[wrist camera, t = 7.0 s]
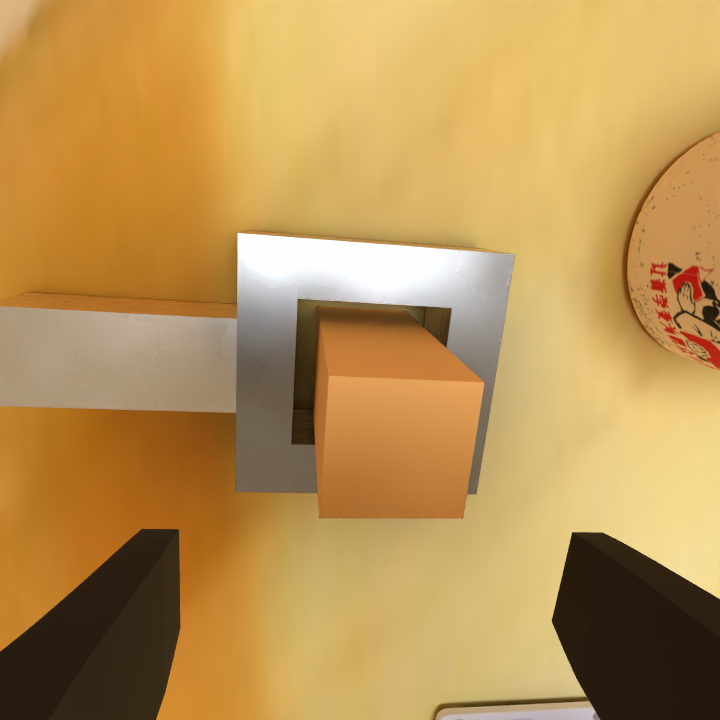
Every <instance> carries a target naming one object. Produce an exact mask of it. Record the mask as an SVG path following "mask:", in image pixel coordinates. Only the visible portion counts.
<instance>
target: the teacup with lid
mask: <svg viewBox="0 0 720 720" xmlns="http://www.w3.org/2000/svg"><path fill="white" fill-rule="evenodd" d="M627 278H628V287H629V292H630V297H631V300H632V303H633V306H634V309H635V311H636V313H637V316H638V318H639V319H640V321H641V323H642V324H643V326H644V327H645V329H646V330H647V331H648V333H649V334H650V335H651V336H652V337H653V338H654V339H655V340H656V341H657V342H658V343H660V344H661V345H662V346H663V347H665V348H666V349H668V350H670V351H671V352H673V353H675V354H677V355H679V356H681V357H684V358H687V359H689V360H692V361H695V362H698V363H700V364H703V365H706V366H708V367H711V368H714V369H717V370H719V371H720V132H718V133H716V134H714V135H712V136H710V137H708V138H706V139H705V140H703V141H701V142H700V143H698V144H697V145H695V146H694V147H693V148H691V149H690V150H689V151H687V152H686V153H685V154H684V155H682V156H681V157H680V158H679V159H678V160H677V161H676V162H675V163H674V164H673V165H672V166H671V167H670V168H669V169H668V170H667V171H666V172H665V173H664V175H663V176H662V177H661V178H660V180H659V181H658V182H657V184H656V185H655V186H654V188H653V190H652V191H651V193H650V194H649V196H648V198H647V199H646V201H645V203H644V205H643V207H642V209H641V211H640V213H639V216H638V218H637V221H636V224H635V226H634V229H633V233H632V237H631V241H630V246H629V252H628V262H627Z"/></svg>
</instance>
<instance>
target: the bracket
mask: <svg viewBox="0 0 720 720" xmlns="http://www.w3.org/2000/svg"><path fill="white" fill-rule="evenodd" d="M514 257H515V254H509V253H503V252H498V251H492V250H486V249H480V248H468V247H455V246H442V245H429V244H416V243H403V242H390V241H377V240H364V239H351V238H338V237H326V236H313V235H300V234H287V233H274V232H261V231H245V232H241V233H238V275H237V304H222V303H205V302H188V301H171V300H153V299H136V298H119V297H102V296H84V295H67V294H50V293H33V292H30V293H26V294H22V295H19V296H15V297H11V298H8V299H4V300H0V406H19V407H52V408H86V409H120V410H153V411H187V412H220V413H236V458H235V492H279V493H318V485H317V467H316V450H315V432H314V414H313V409H293V396H294V373H295V351H296V329H297V306H298V299H312V300H328V301H345V302H361V303H378V304H394V305H411V306H426V311H425V319H424V328H425V329H426V330H427V331H428V332H429V333H430V334H431V335H432V336H434V337H435V338H436V339H437V340H438V341H439V342H440V343H441V344H442V345H444V346H445V347H446V348H447V349H448V350H449V351H450V352H451V353H452V354H454V355H455V356H456V357H457V358H458V359H459V360H460V361H461V362H462V363H464V364H465V365H466V366H467V367H468V368H469V369H470V370H471V371H472V372H474V373H475V374H476V375H477V376H478V377H479V378H480V379H481V380H482V381H484V382H485V383H484V390H483V396H482V402H481V409H480V415H479V421H478V428H477V434H476V440H475V446H474V453H473V459H472V465H471V472H470V478H469V484H468V491H467V494H476V493H477V487H478V481H479V475H480V468H481V462H482V456H483V450H484V444H485V437H486V431H487V425H488V419H489V413H490V406H491V400H492V394H493V388H494V382H495V375H496V369H497V363H498V357H499V351H500V344H501V338H502V332H503V326H504V319H505V313H506V307H507V301H508V295H509V288H510V282H511V276H512V270H513V264H514Z"/></svg>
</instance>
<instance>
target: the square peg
mask: <svg viewBox="0 0 720 720" xmlns="http://www.w3.org/2000/svg"><path fill="white" fill-rule="evenodd" d="M484 383H485V382H484V381H482V380H481V379H480V378H479V377H478V376H477V375H476V374H475V373H474V372H472V371H471V370H470V369H469V368H468V367H467V366H466V365H465V364H464V363H462V362H461V361H460V360H459V359H458V358H457V357H456V356H455V355H454V354H452V353H451V352H450V351H449V350H448V349H447V348H446V347H445V346H444V345H442V344H441V343H440V342H439V341H438V340H437V339H436V338H435V337H434V336H432V335H431V334H430V333H429V332H428V331H427V330H426V329H425V328H424V327H422V326H421V325H420V324H419V323H418V322H417V321H416V320H415V319H414V318H413V317H411V316H410V315H409V314H408V313H407V312H406V311H389V310H373V309H357V308H341V307H325V306H317V318H316V335H315V352H314V369H313V386H312V397H313V414H314V432H315V450H316V467H317V485H318V503H319V518H461V519H463V516H464V510H465V503H466V497H467V491H468V484H469V478H470V472H471V465H472V459H473V453H474V446H475V440H476V434H477V428H478V421H479V415H480V409H481V402H482V396H483V390H484Z"/></svg>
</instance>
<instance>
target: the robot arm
mask: <svg viewBox="0 0 720 720" xmlns="http://www.w3.org/2000/svg"><path fill="white" fill-rule="evenodd" d="M552 623H553V625H554V628H555V630H556V632H557V635H558V637H559V640H560V642H561V645H562V647H563V649H564V652H565V654H566V656H567V658H568V661H569V663H570V665H571V667H572V669H573V672H574V674H575V676H576V678H577V680H578V682H579V684H580V685H581V687H582V689H583V691H584V693H585V694H586V696H587V698H588V700H589V701H584V702H564V703H544V704H524V705H504V706H483V707H463V708H446V709H443V710H441V711H439V713H438V714H437V716H436V720H720V599H719V598H717V597H715V596H714V595H712V594H710V593H708V592H707V591H705V590H703V589H702V588H700V587H698V586H697V585H695V584H693V583H691V582H690V581H688V580H686V579H685V578H683V577H681V576H680V575H678V574H676V573H675V572H673V571H671V570H669V569H668V568H666V567H664V566H663V565H661V564H659V563H658V562H656V561H654V560H652V559H651V558H649V557H647V556H645V555H644V554H642V553H640V552H638V551H637V550H635V549H633V548H631V547H630V546H628V545H626V544H624V543H622V542H620V541H618V540H616V539H614V538H612V537H610V536H608V535H606V534H604V533H589V532H572V536H571V540H570V545H569V549H568V553H567V558H566V562H565V566H564V570H563V575H562V579H561V583H560V588H559V592H558V596H557V601H556V605H555V609H554V614H553V618H552ZM179 631H180V572H179V529H141V530H140V531H139V532H138V533H137V534H136V535H134V536H133V537H132V538H131V539H130V540H129V541H128V542H126V543H125V544H124V545H123V546H122V547H121V548H120V549H119V550H118V551H116V552H115V553H114V554H113V555H112V556H111V557H110V558H109V559H108V560H107V561H105V562H104V563H103V564H102V565H101V566H100V567H99V568H98V569H97V570H96V571H94V572H93V573H92V574H91V575H90V576H89V577H88V578H87V579H86V580H84V581H83V582H82V583H81V584H80V585H79V586H78V587H77V588H75V589H74V590H73V591H72V592H71V593H70V594H69V595H67V596H66V597H65V598H64V599H63V600H62V601H61V602H59V603H58V604H57V605H56V606H55V607H54V608H52V609H51V610H50V611H49V612H48V613H47V614H46V615H44V616H43V617H42V618H41V619H40V620H39V621H37V622H36V623H35V624H34V625H33V626H32V627H30V628H29V629H28V630H27V631H26V632H24V633H23V634H22V635H21V636H19V637H18V638H17V639H16V640H14V641H13V642H12V643H11V644H9V645H8V646H7V647H6V648H4V649H3V650H2V651H1V652H0V720H156V718H157V715H158V712H159V709H160V706H161V703H162V700H163V697H164V694H165V691H166V687H167V683H168V679H169V674H170V670H171V666H172V662H173V658H174V653H175V649H176V644H177V640H178V635H179Z"/></svg>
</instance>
